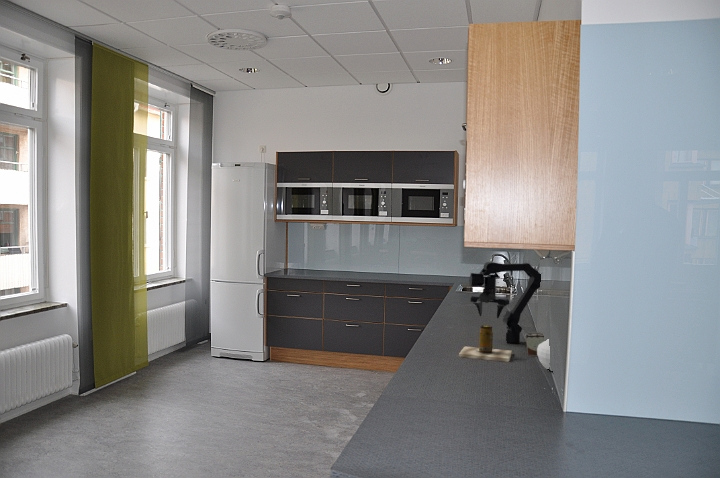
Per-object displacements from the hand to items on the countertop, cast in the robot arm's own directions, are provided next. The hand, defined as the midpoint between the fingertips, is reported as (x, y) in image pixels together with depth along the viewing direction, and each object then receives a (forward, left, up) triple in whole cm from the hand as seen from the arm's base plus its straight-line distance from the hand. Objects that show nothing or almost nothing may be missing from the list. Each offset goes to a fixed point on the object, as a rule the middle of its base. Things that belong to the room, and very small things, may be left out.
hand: (489, 317), depth 284 cm
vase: (-34, +43, -13) cm, 56 cm away
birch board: (-2, +29, -13) cm, 32 cm away
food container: (-24, +17, -13) cm, 32 cm away
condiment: (-2, +29, -12) cm, 31 cm away
